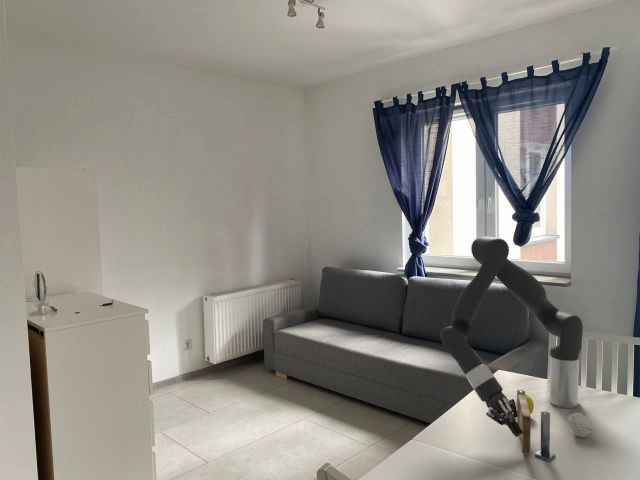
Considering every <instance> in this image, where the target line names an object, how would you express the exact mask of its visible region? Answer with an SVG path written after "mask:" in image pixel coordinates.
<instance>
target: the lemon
mask: <svg viewBox="0 0 640 480" xmlns="http://www.w3.org/2000/svg"><path fill="white" fill-rule="evenodd" d="M525 397H526V401H527V404H528V408H529V412H530V415H531V414H532V413H533V412H534V407H535V406H534V401H533V399H532V397H531V396H529V395H528V394H526V393H525ZM515 404H516V409H517V400H516V401H515Z"/></svg>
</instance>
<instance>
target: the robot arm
mask: <svg viewBox="0 0 640 480" xmlns="http://www.w3.org/2000/svg"><path fill="white" fill-rule="evenodd" d="M470 247H471V248H470V249H471V254H472V257H473V258H474V260H475V261H476V262H478V263H479V264H480V268H479V270H478V272H477V273H476V275H475V276H474V277H473V279H471V281H469V283H468V284H467V285H466V286H465V287H464V288H463V290H462V291H461V292H460V295H459V296H458V298H457V300H456V302H455V305H454V307H453V310H452V315H451V316H452V319H451V322H450V325H449V326H445V327H443V329H442V330H441V331H440V341H441V343H442V346H444V348H445V349H446V350H447V351H448V353H449V354H450V356H451V357H452V358H453V359H454V360H455V361H456V363H457V365H458V366H459V368H460V369H461V371H462V373H463V374H464V375H465V377H466V379H467V380H468V382H469V384H470V385H471V387H472V389H473V390H474V392H475V394H476V395H477V397H478V398H479V400H480V401H481V402H483V403H484V402H485V404H486V407H487V408H488V411H487V412H486V416H487V417H488V418H490V419H491V420H493V421H494V422H495V423H497V424H499V425H501V426H504V425H505V426H507V427H508V429H509V430H510V432H511V433H512V435H513V436H514V437H519V436H520V434H522V430H521V428H520V426H519V425H518V424H517V417H518V414H517V408H516V401H515V399H513V398H511V399H510V398H508V397H507V395H505V394H504V393H503V390H504V389H503V387H502V385H501V384H500V382H499V381H498V380H497V378H496V377H495V376H494V374H493V373H492V371H491V370H490V368H489V367H487V365H486V364H485V363H484V361H483V360H482V358H481V356H480V355H479V354H478V353H477V352H476V350H475V349H473V348H472V347H471V346H470V344H469V342H468V341H467V340H468V337H469V336H470V335H469V334H470V332H471V327H472V324H473V320H475V317H476V315H477V312H478V309H479V307H480V306H481V303H482V301H483V299H484V297H485V295H486V293H487V292H488V289H489V288H490V286H491V285H492V283H493V282H494V280H495V279H496V278H497V279H498V280H499V281H500V283H501V284H502V285H503V286H504V287H506V289H507V290H508V291H509V292H510V293H511V294H512V295H513V296H514V298H516V299H517V300H518V301H519V302H520V303H522V304H523V305H524V306H525V307H526V308H527V310H529V311H530V312H531V313H532V314H533V315H534V316H535V317H536V318H537V319H538V321H539V322H540V323H541V324H542V326H543V327H544V328H545V329H546V330H547V332H548V333H549V334H551V335H553V336H555V337H557V338H559V344H558V345H553V346H552V347H550V350H549V396H548V397H549V402H550V404H551V405H554V406H556V407H559V408H564V409H574V408H577V407H578V406H579V375H580V374H579V370H580V369H579V367H580V362H579V361H580V353H581V350H582V345H583V344H582V343H583V335H584V331H583V330H584V327H583V321H582V319H581V318H580V317H579V316H578V315H576V314H572V313H569V312H566V311H563V310H560V309H559V308H557V307H556V306H555V305H553V304H552V303H551V302H550V300H548V296H547V292H546V289H545V287H544V286H543V285H542V283H541V282H539V280H538V279H537V278H536V277H535V276H533V275H532V274H531V273H530V272H529V271H528V270H526V269H525V268H523V267H521V266H519V265H518V264H516V263H514V262H513V261H511V260H510V259H509V258H508V257H509V253H510V247H509V244H508V243H507V241H506V240H505V239H503V238H499V237H493V236H479V237H477V238H475V239H474V240H473V241H472V244H471V246H470Z"/></svg>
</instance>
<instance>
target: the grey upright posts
mask: <svg viewBox="0 0 640 480" xmlns="http://www.w3.org/2000/svg"><path fill="white" fill-rule="evenodd" d="M525 394H526V391H525V390H524V389H523V390H522V389H517V391H516V401H517V408H516V409H517V414H518V395H525ZM516 422H517V424H518V417H516ZM550 439H551V413H550V412H549V411H544V410H543V411H541V412H540V449H539V450H538V451H536V452H535V453H534V456H535V457H536V458H538V459H541V460H544V461H547V462H548V463H550V461H552V460H553V459H554V458H555V457H556V453H554V452H551V449H550V448H551V447H550V446H551V444H550V443H551V440H550Z"/></svg>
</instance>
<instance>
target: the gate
mask: <svg viewBox="0 0 640 480" xmlns="http://www.w3.org/2000/svg"><path fill="white" fill-rule="evenodd" d="M531 418H532V417H531V414H530V412H529V408H528V404H527V401H526V397H525V395H518V425H519V426H520V428H521V430H522V434H520V435H519V436H520V442H521V450H522V455H531V431H532V430H531V429H532V427H531V421H532V419H531Z"/></svg>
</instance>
